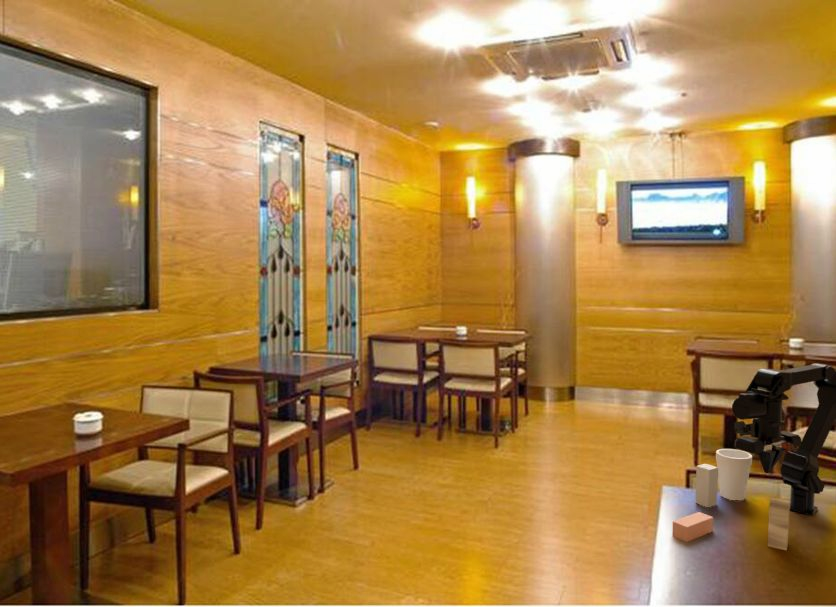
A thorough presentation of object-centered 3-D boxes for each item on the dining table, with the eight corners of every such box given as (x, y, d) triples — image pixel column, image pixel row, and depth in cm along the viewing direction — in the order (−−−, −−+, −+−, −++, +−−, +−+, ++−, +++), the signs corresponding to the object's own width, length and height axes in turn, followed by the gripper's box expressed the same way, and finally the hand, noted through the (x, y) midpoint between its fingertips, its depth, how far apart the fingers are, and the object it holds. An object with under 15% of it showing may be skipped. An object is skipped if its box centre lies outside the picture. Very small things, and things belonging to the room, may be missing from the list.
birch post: (769, 540, 156) (771, 497, 156) (787, 544, 154) (789, 500, 153) (767, 546, 153) (769, 502, 152) (786, 550, 151) (788, 506, 150)
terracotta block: (698, 511, 165) (672, 521, 159) (713, 517, 161) (687, 527, 155) (698, 526, 165) (672, 536, 159) (712, 532, 161) (686, 542, 156)
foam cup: (754, 504, 179) (756, 460, 178) (719, 501, 181) (721, 457, 180) (744, 492, 188) (746, 449, 187) (711, 489, 190) (712, 447, 189)
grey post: (704, 500, 182) (705, 463, 181) (716, 505, 178) (718, 467, 177) (695, 503, 180) (696, 465, 179) (708, 508, 176) (709, 469, 175)
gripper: (767, 406, 180) (764, 459, 181) (719, 412, 173) (717, 468, 174) (804, 415, 170) (801, 471, 171) (754, 422, 163) (752, 481, 164)
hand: (766, 472), depth 170 cm, fingers closed
